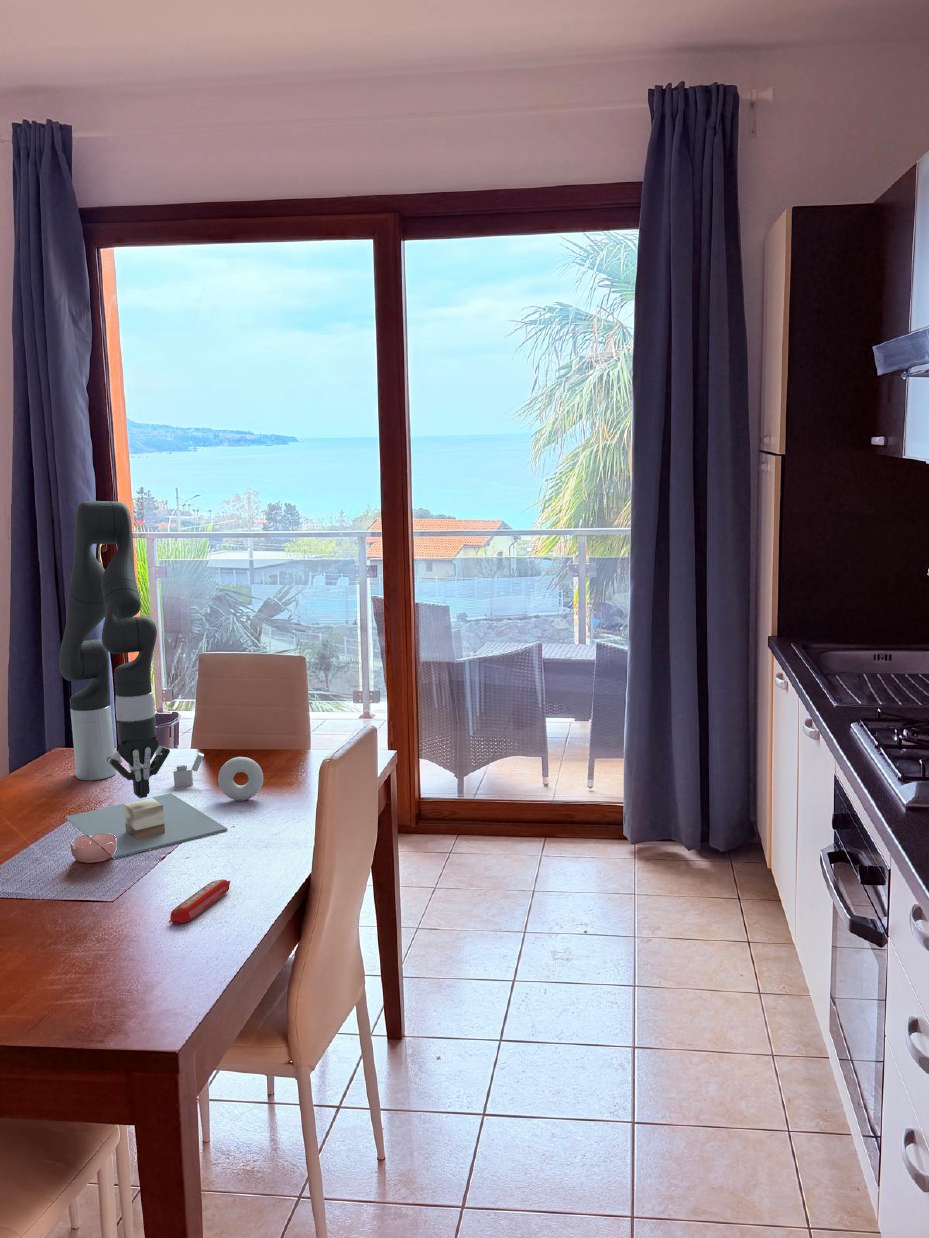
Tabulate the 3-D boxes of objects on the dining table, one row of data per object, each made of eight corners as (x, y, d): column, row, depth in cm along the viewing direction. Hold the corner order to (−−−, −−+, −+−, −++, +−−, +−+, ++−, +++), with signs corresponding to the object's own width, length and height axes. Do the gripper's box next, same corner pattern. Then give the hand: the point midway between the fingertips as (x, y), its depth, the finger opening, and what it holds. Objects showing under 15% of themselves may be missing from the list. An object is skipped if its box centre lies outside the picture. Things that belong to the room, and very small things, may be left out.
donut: (265, 796, 250) (262, 753, 248) (264, 801, 247) (261, 757, 245) (220, 799, 249) (217, 756, 247) (218, 804, 245) (215, 760, 244)
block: (134, 811, 222) (136, 839, 223) (163, 804, 226) (165, 832, 227) (123, 803, 227) (126, 831, 228) (152, 797, 230) (154, 825, 231)
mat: (64, 818, 238) (64, 816, 238) (170, 795, 252) (170, 793, 252) (113, 859, 214) (112, 856, 214) (227, 830, 229) (227, 828, 228)
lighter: (174, 789, 257) (172, 755, 255) (175, 786, 258) (172, 753, 257) (205, 786, 258) (203, 753, 257) (206, 784, 260) (204, 751, 258)
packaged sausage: (216, 889, 200) (215, 873, 199) (233, 891, 198) (232, 875, 198) (165, 927, 185) (164, 910, 184) (184, 929, 184) (183, 912, 183)
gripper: (159, 706, 230) (165, 785, 233) (96, 716, 223) (103, 799, 226) (174, 712, 225) (179, 794, 227) (109, 724, 217) (116, 808, 220)
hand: (141, 796), depth 226 cm, fingers closed
